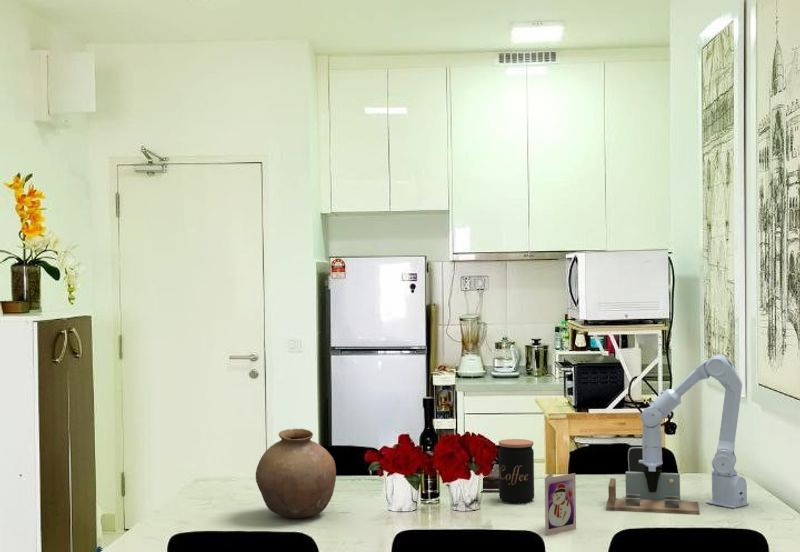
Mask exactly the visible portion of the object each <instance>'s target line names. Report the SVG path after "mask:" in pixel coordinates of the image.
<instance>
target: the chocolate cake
mask: <svg viewBox="0 0 800 552" xmlns="http://www.w3.org/2000/svg"><path fill="white" fill-rule="evenodd" d="M493 464H494V466H493V469H492V473H491V476H490V477H484V478H483V492H482V493H499V463H498V464H496V463H493Z"/></svg>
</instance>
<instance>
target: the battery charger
mask: <svg viewBox="0 0 800 552" xmlns="http://www.w3.org/2000/svg"><path fill="white" fill-rule="evenodd" d="M639 460H643V448H642V446H631V447H629V448H628V450H627V462H628V472H643V466H646V465H644V464H643V463H639Z"/></svg>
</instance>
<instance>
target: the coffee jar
mask: <svg viewBox="0 0 800 552" xmlns="http://www.w3.org/2000/svg"><path fill="white" fill-rule="evenodd" d="M498 446H499V449H498V464H499V492H498V497H499V499H500V500H501V502H502V503H505V504H511V505H524V504H530V503H531V502H533V500H534V499H535V464H534V463H535V462H534V461H535V460H534V459H535V454H534V448H533V446H534V441H533V440H530V439H523V438H521V439H520V438H507V439H502V440H498Z"/></svg>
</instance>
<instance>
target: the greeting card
mask: <svg viewBox="0 0 800 552" xmlns="http://www.w3.org/2000/svg"><path fill="white" fill-rule="evenodd" d="M553 472H554V471H553V470H552V471H550V472H549V473H548V474H547V475H546V477H545V478H544V520H545V521H544V523H545V524H544V525H545V526H544V527H545V528H544V529H545V532H544V533H545V534H544V536H550V535H554V534H560V533H563V532H568V531H572V530H576V529H577V501H576V498H577V495H576V491H577V489H576V482H577V481H576V472H574V473H573V472H572V473H569V474H563V475H556V476H554V473H553Z"/></svg>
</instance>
